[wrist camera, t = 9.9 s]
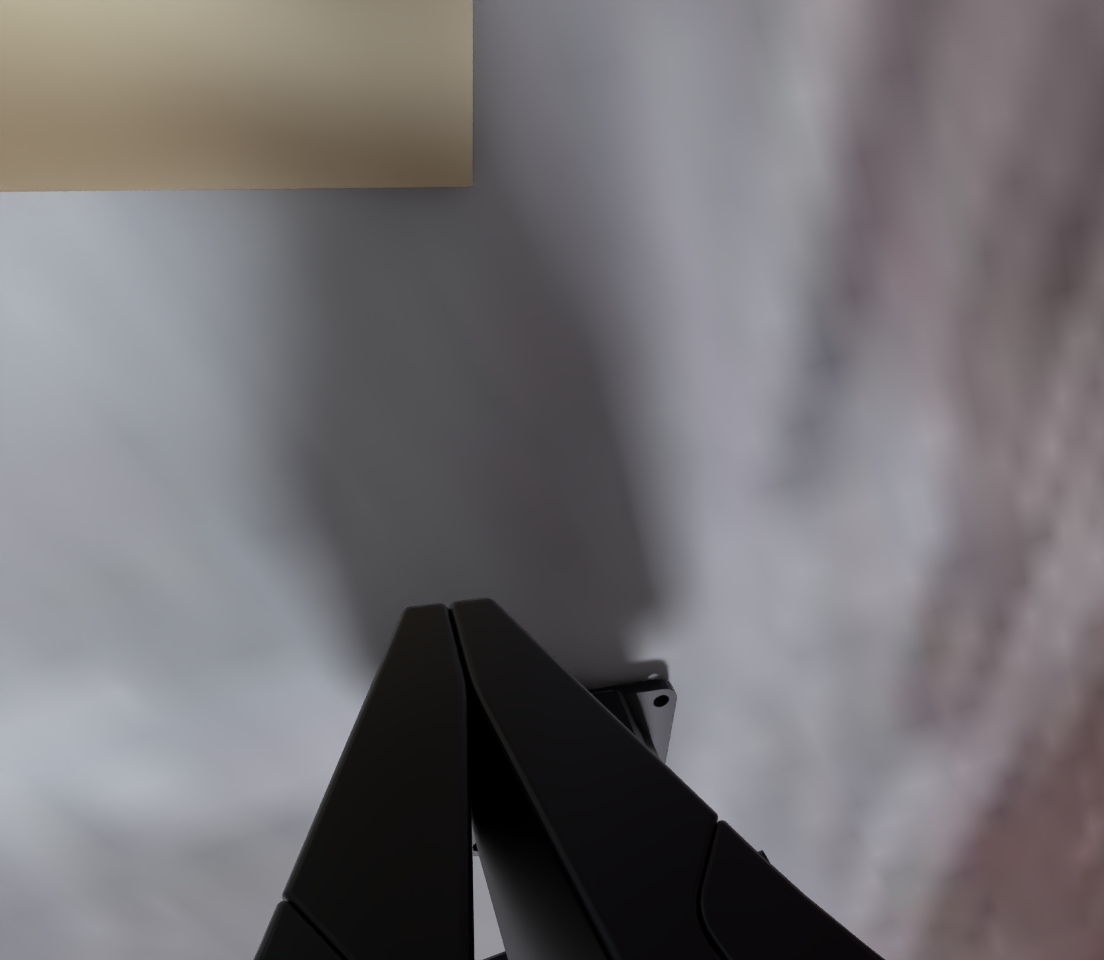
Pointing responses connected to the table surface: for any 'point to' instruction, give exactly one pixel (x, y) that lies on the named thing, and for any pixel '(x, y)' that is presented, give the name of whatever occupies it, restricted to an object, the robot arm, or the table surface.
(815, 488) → the table surface
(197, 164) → the post board
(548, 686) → the robot arm
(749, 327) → the table surface
